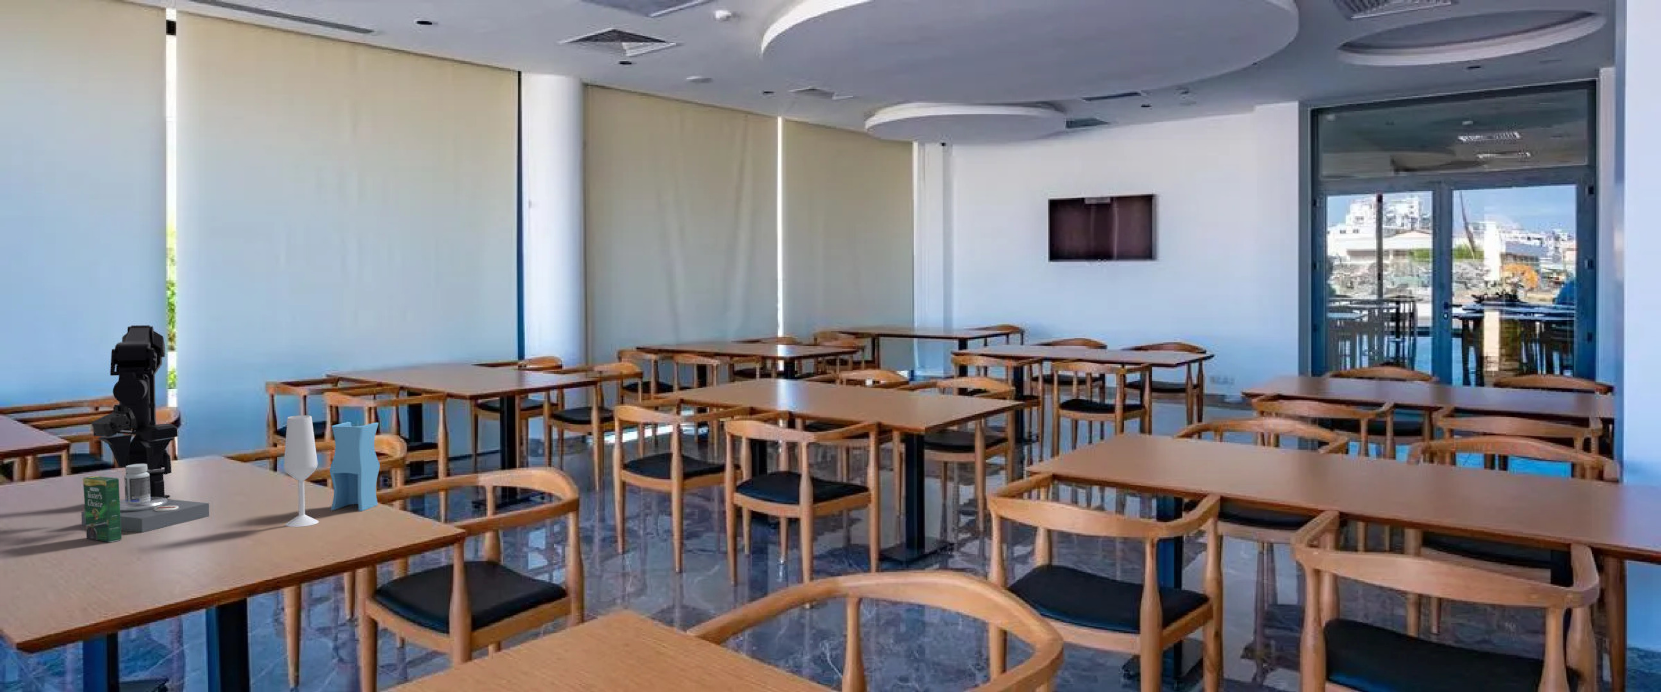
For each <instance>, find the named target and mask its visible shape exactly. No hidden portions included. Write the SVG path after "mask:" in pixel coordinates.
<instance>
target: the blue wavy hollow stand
mask: <svg viewBox="0 0 1661 692" xmlns="http://www.w3.org/2000/svg"><path fill="white" fill-rule="evenodd" d="M378 426H379V422H372V423H367V424H364V425H358V426H356V425H355V426H354V425H352V422H351V421H345V422H343V423H339V424H334V425H331V428H332V432H333V437H334V445H335V447H334V456H333V458H332V462H331V464H330V468H329V474H330V477H331V481H332V486H333V499H332V504H331V508H330V510H331V511H335V510H338V509H340V508H344V507H346V506H348V505H358V506H357V507H358V512H363V511H366V510H369V509H371V508H373V507H376V506H377V505H379V503H378V499H377V480H378V475H379V472H380V468H381V466H380V465H381V464H380V461H379V460H378V456H377V453H376V448H375V438H376V437H375V436H376V433H377V429H378Z"/></svg>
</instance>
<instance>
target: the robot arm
mask: <svg viewBox="0 0 1661 692" xmlns="http://www.w3.org/2000/svg"><path fill="white" fill-rule="evenodd" d="M110 355H111V356H110V369H109V370H110V371H109V375H110V376H118V380H117V382H115V384H114V386H113V389H112V395H113V396H114V398H115V399H116V401H117V402H118V404H114V406H113V407H112V412H111V413H108V414H105V415H103V416H101V417H99V418H97V419H95V420H94V421H92V422H91V426H92V429H93V430H92V431H93V433H92V434H93V437H97V439H98V440H99V441H102V442H103V443H105V444H107V445H108V447H109V448H110V450H111V452H112V454H113V458H114V459H115V461H116V464H117V466H118V467H119V468H124V467H125V468H126V466H128V465H134V464H147V468H148V469H147V471H146V472H148V473H149V475H150V496H151V497H163V498H167V499H169V498H170V497H171V495H170V494H165V480H164V475H166V476H167V475H168V474H171V473H172V461H171V455H170V454H169V453H168V449H167V447H168V446H169V444H170V443H171V442H172V441H175V440H174V438H177V437H178V436H179V431H178V429H179V428H178V427H177V426H176V425H174V424H167V423H160V424H158V423H157V414H156V413H157V411H156V406H157V405H156V373H158V370H160V368H161V366H162V365H163V358H165V357H166V345H165V338H164V335H161V334H160V333H158V331H155V330H154V326H153V325H152V326H150V325H148V324H145V325H143V324H141V325H140V324H139V325H132V324H131V325H130V326H127V331H126V333H125V334H124V335H122V337H121V341H120V342H117V343H116V344H115V346H114V348H112V349H111V354H110ZM133 435H134V436H133ZM132 437H133V438H132ZM126 474H127V473H126V472H125V475H126Z"/></svg>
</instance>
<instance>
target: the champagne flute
mask: <svg viewBox="0 0 1661 692" xmlns="http://www.w3.org/2000/svg"><path fill="white" fill-rule="evenodd" d="M286 422H287V423H286V431H285V432H286V433H285V447H284V456H283V457H284V459H283V468H284V471H285V472H286V473H287V474H288V475H289V476H290V477H291V478H293V479H294V480H296V481H298V484H297V486H298V489H297V490H298V515H297V516H296V517H294V518H292V519H290V520H289V521H288V522H286V523H285V524H284V526H286V527H290V528H297V527H298V528H299V527H309V526H313V525H317V524H318V523H320V522H319V520H317V519H315V518H313V517H311V516H308V515H307V514H306V506H305V504H306V503H305V501H306V500H305V498H306V497H305V480H306V479H308V478H310V476H311V475H312V474H314V472H315V471H316V470H317V467H318V465H319V464H318V458H317V457H318V455H317V450H316V441H315V432H314V425H313V418H312V416H311V415H292V416H287V421H286Z"/></svg>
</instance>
